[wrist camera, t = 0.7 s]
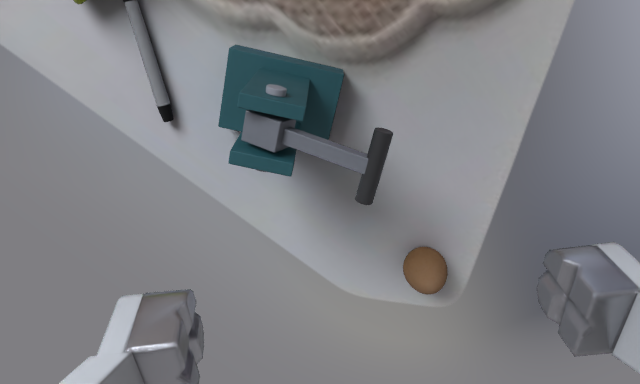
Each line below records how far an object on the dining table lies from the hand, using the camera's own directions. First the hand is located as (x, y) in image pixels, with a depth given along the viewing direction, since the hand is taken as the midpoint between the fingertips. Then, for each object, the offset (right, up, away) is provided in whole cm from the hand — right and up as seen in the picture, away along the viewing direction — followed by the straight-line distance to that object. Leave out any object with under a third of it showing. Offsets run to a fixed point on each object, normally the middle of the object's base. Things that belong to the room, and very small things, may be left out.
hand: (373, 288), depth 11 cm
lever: (-1, +6, +22) cm, 22 cm away
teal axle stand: (-5, +11, +33) cm, 35 cm away
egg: (+10, -5, +40) cm, 41 cm away
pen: (-18, +10, +35) cm, 40 cm away
